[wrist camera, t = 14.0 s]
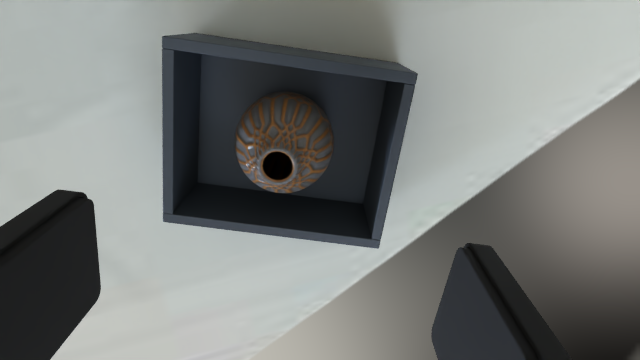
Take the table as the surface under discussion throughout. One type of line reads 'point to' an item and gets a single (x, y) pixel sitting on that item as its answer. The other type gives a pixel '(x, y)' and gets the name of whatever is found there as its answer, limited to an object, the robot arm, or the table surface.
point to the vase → (284, 142)
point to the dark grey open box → (238, 95)
